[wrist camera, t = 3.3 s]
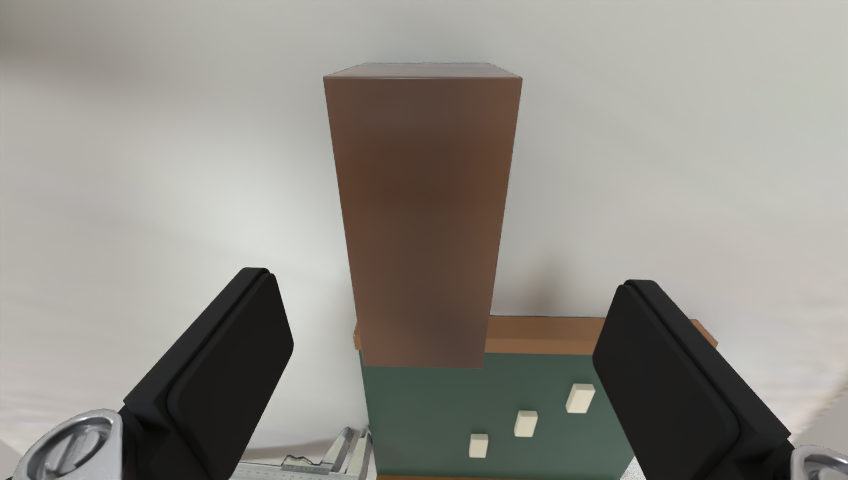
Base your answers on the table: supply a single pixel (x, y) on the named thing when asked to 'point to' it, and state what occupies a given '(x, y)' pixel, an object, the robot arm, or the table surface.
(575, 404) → the chalk mark
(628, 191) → the table surface
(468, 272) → the eraser
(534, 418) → the chalk mark
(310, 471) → the caliper
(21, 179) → the table surface
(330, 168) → the table surface
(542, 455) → the chalkboard
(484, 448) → the chalk mark
